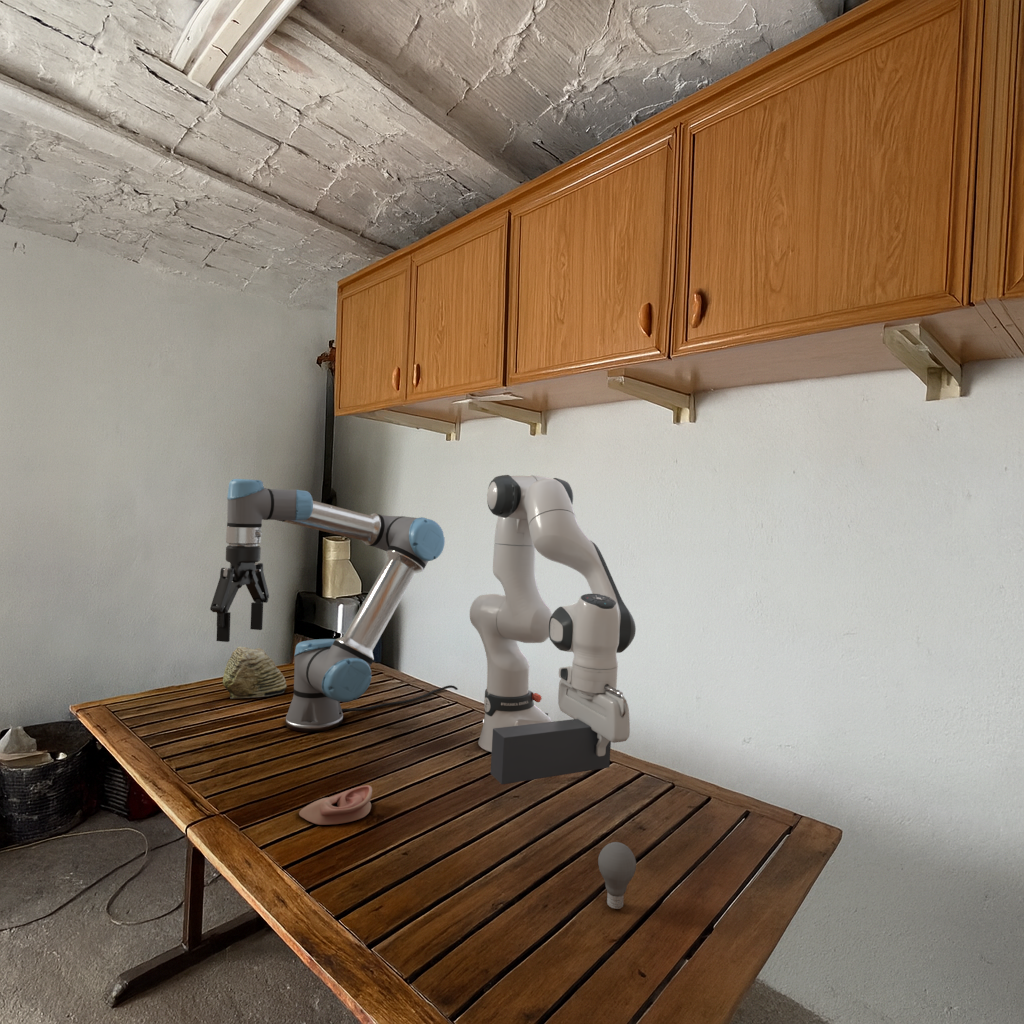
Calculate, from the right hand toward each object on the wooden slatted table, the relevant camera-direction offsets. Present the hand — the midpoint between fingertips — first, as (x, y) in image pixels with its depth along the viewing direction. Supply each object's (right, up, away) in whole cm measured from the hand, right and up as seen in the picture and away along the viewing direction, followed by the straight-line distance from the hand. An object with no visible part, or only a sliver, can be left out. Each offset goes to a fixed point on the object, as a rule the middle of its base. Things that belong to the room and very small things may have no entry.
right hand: (590, 748), depth 124 cm
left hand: (-79, +17, +25) cm, 85 cm away
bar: (-8, -3, -4) cm, 9 cm away
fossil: (-96, -11, +74) cm, 122 cm away
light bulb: (+1, -17, -23) cm, 29 cm away
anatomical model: (-51, -14, +3) cm, 53 cm away
